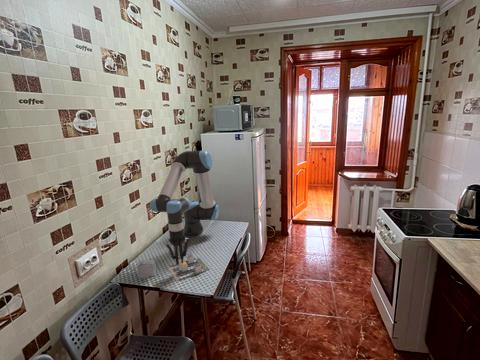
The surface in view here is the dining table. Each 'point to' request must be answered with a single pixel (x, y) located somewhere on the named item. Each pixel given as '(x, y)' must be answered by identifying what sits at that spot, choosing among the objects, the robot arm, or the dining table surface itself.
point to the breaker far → (190, 258)
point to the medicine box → (147, 268)
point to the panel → (176, 276)
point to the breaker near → (198, 268)
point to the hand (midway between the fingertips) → (180, 268)
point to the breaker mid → (184, 266)
